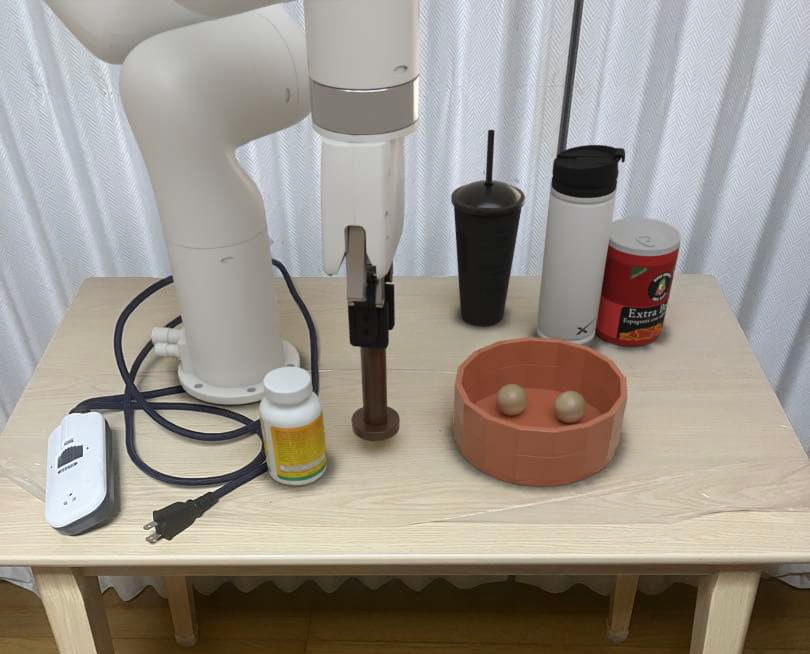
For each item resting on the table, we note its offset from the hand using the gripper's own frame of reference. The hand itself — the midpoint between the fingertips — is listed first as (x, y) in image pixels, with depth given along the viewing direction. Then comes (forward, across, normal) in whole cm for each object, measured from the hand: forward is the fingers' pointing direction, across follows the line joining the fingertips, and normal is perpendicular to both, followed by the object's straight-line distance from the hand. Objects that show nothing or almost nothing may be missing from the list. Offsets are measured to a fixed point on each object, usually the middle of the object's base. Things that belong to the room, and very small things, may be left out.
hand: (372, 335), depth 73 cm
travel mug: (+12, -21, +17) cm, 30 cm away
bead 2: (+9, -6, +18) cm, 21 cm away
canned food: (+12, -25, +24) cm, 36 cm away
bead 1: (+9, -6, +12) cm, 16 cm away
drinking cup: (+12, -26, +8) cm, 29 cm away
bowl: (+12, -4, +15) cm, 19 cm away
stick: (+10, 0, 0) cm, 10 cm away
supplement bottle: (+12, +4, -6) cm, 14 cm away
